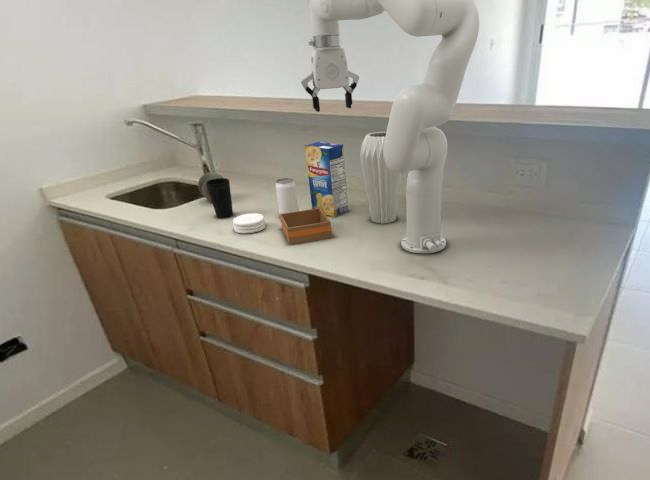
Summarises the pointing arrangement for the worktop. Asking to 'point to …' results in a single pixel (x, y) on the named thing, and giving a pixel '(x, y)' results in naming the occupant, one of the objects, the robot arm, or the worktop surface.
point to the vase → (379, 179)
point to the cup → (220, 197)
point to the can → (286, 195)
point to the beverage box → (327, 177)
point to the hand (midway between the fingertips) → (333, 109)
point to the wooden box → (305, 226)
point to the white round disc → (249, 223)
